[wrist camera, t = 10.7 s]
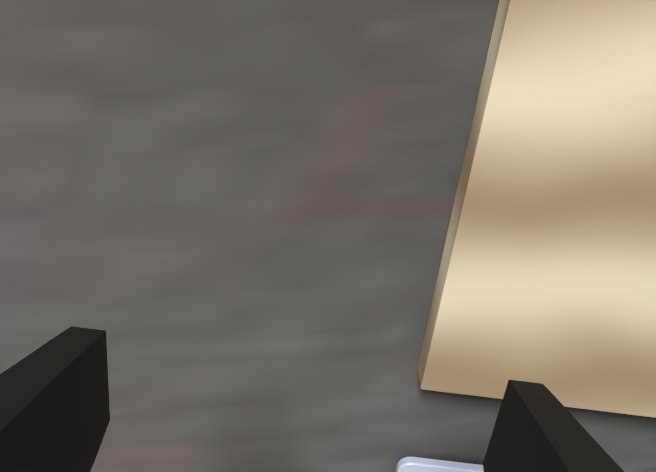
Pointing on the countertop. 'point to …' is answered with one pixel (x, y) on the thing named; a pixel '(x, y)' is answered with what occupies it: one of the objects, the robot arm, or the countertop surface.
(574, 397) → the board
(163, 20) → the countertop surface
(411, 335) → the countertop surface
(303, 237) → the countertop surface
